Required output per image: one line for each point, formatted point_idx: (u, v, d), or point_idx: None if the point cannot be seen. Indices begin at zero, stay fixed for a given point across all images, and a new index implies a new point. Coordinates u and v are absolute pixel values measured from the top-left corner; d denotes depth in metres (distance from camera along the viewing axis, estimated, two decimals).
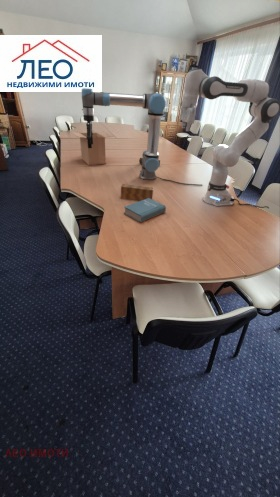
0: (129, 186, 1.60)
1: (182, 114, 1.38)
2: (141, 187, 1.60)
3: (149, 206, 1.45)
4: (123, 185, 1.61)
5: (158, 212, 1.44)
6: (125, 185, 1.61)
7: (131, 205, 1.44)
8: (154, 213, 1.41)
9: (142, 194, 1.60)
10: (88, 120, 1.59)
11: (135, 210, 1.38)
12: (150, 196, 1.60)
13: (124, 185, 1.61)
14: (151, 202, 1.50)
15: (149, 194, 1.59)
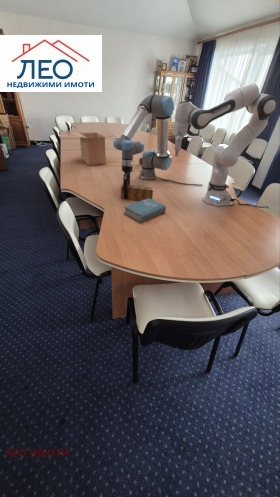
0: (129, 186, 1.60)
1: None
2: (141, 187, 1.60)
3: (149, 206, 1.45)
4: None
5: (158, 212, 1.44)
6: None
7: (131, 205, 1.44)
8: (154, 213, 1.41)
9: (142, 194, 1.60)
10: None
11: (135, 210, 1.38)
12: (150, 196, 1.60)
13: None
14: (151, 202, 1.50)
15: (149, 194, 1.59)
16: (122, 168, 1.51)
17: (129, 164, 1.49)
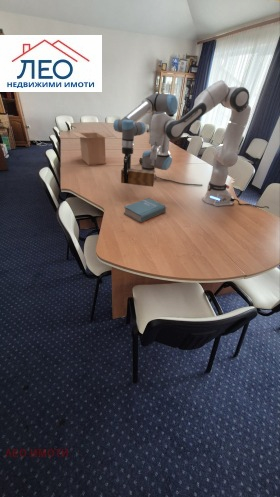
0: (130, 170, 1.53)
1: None
2: (142, 171, 1.53)
3: (149, 206, 1.45)
4: (123, 168, 1.55)
5: (158, 212, 1.44)
6: None
7: (131, 205, 1.44)
8: (154, 213, 1.41)
9: (143, 178, 1.53)
10: None
11: (135, 210, 1.38)
12: (151, 180, 1.53)
13: None
14: (151, 202, 1.50)
15: (151, 178, 1.52)
16: (122, 150, 1.45)
17: (130, 145, 1.42)
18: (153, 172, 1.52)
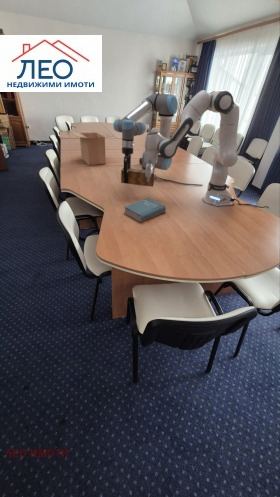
0: (130, 170, 1.53)
1: None
2: (142, 171, 1.53)
3: (149, 206, 1.45)
4: (123, 168, 1.55)
5: (158, 212, 1.44)
6: None
7: (131, 205, 1.44)
8: (154, 213, 1.41)
9: (143, 179, 1.53)
10: None
11: (135, 210, 1.38)
12: (151, 180, 1.53)
13: None
14: (151, 202, 1.50)
15: (151, 178, 1.52)
16: (122, 150, 1.45)
17: (130, 145, 1.42)
18: (153, 172, 1.52)
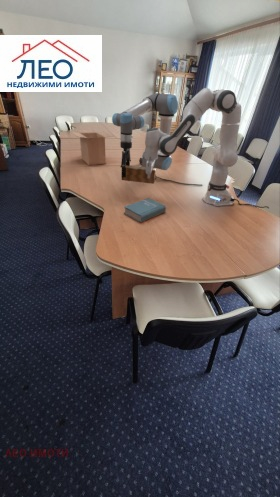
0: (130, 167, 1.52)
1: None
2: (143, 168, 1.52)
3: (149, 206, 1.45)
4: None
5: (158, 212, 1.44)
6: (126, 166, 1.53)
7: (131, 205, 1.44)
8: (154, 213, 1.41)
9: (143, 175, 1.52)
10: None
11: (135, 210, 1.38)
12: (152, 177, 1.52)
13: None
14: (151, 202, 1.50)
15: (152, 175, 1.51)
16: (121, 144, 1.43)
17: (128, 139, 1.40)
18: (154, 169, 1.51)
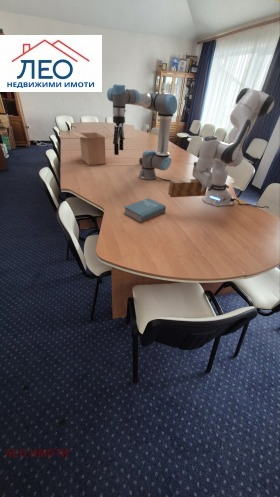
0: (180, 181, 1.33)
1: (195, 173, 1.39)
2: (193, 180, 1.36)
3: (149, 206, 1.45)
4: (172, 181, 1.33)
5: (158, 212, 1.44)
6: (175, 181, 1.33)
7: (131, 205, 1.44)
8: (154, 213, 1.41)
9: (196, 189, 1.36)
10: None
11: (135, 210, 1.38)
12: (204, 189, 1.38)
13: (174, 181, 1.33)
14: (151, 202, 1.50)
15: None
16: (113, 119, 1.35)
17: (121, 113, 1.32)
18: None
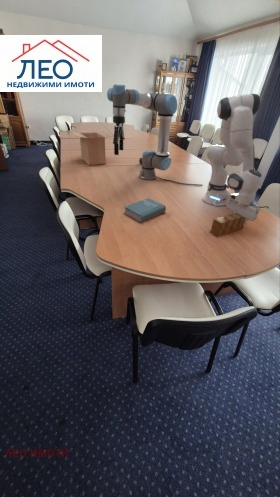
0: (225, 219, 1.28)
1: (232, 205, 1.35)
2: (234, 216, 1.32)
3: (149, 206, 1.45)
4: (218, 220, 1.26)
5: (158, 212, 1.44)
6: (220, 219, 1.27)
7: (131, 205, 1.44)
8: (154, 213, 1.41)
9: (237, 224, 1.33)
10: None
11: (135, 210, 1.38)
12: None
13: (219, 219, 1.27)
14: (151, 202, 1.50)
15: (243, 220, 1.35)
16: (113, 119, 1.35)
17: (121, 113, 1.32)
18: None
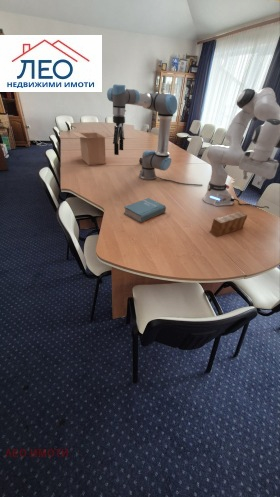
0: (225, 219, 1.28)
1: (246, 165, 1.20)
2: (234, 216, 1.32)
3: (149, 206, 1.45)
4: (218, 220, 1.26)
5: (158, 212, 1.44)
6: (220, 219, 1.27)
7: (131, 205, 1.44)
8: (154, 213, 1.41)
9: (237, 224, 1.33)
10: None
11: (135, 210, 1.38)
12: (243, 222, 1.36)
13: (219, 219, 1.27)
14: (151, 202, 1.50)
15: (243, 220, 1.35)
16: (113, 119, 1.35)
17: (121, 113, 1.32)
18: (243, 213, 1.35)
